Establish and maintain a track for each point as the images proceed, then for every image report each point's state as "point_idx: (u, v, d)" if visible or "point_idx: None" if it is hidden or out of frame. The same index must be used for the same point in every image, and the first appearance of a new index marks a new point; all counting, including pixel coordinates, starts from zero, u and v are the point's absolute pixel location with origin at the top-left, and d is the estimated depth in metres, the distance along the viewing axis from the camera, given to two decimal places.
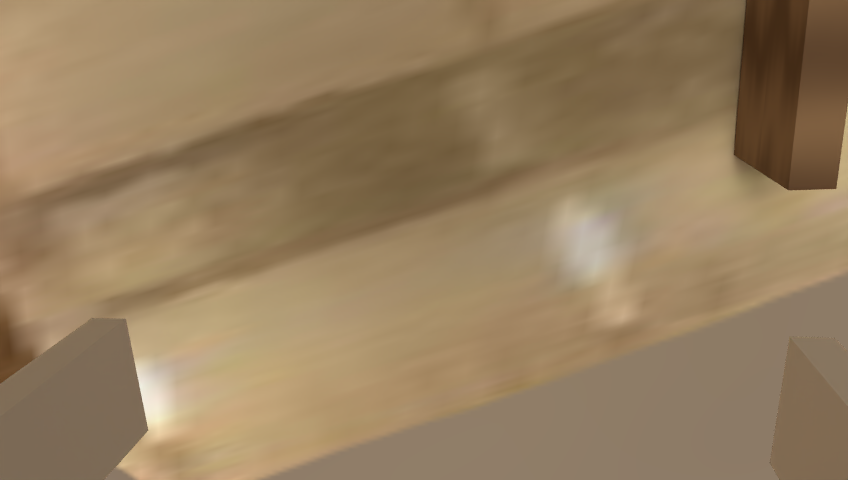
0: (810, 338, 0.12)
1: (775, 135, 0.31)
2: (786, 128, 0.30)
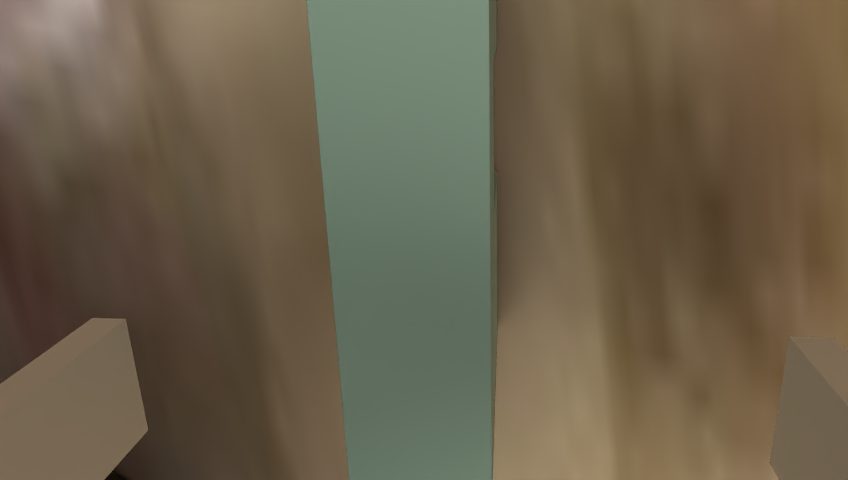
0: (810, 338, 0.12)
1: None
2: None
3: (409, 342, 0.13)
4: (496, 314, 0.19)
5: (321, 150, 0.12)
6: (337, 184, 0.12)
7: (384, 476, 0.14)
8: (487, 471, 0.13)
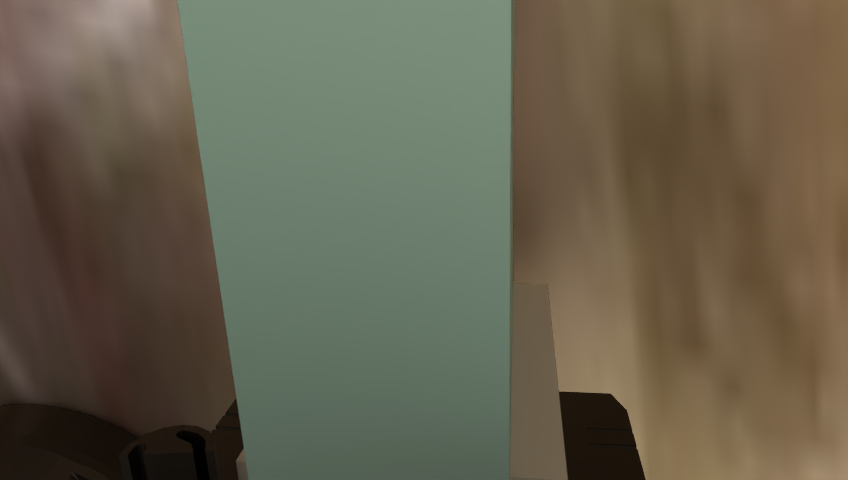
0: (527, 284, 0.15)
1: None
2: None
3: None
4: None
5: (219, 245, 0.07)
6: (247, 304, 0.07)
7: None
8: None
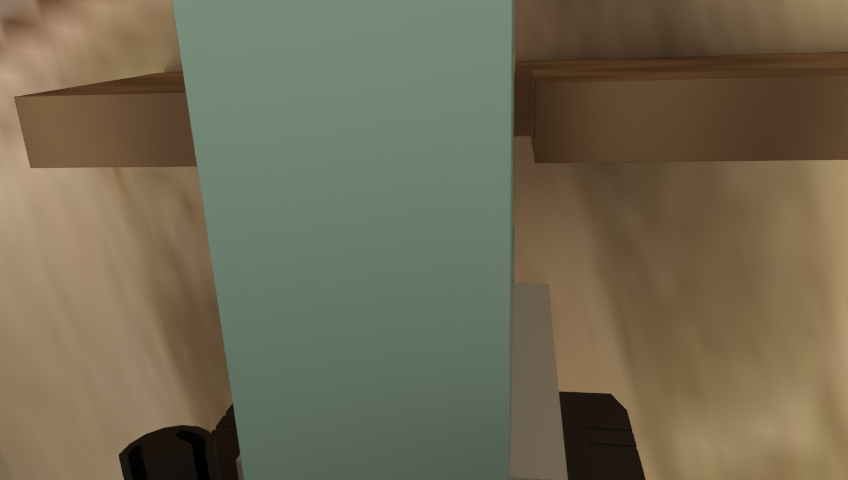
0: (527, 284, 0.15)
1: None
2: None
3: None
4: None
5: (216, 251, 0.07)
6: (244, 310, 0.07)
7: None
8: None
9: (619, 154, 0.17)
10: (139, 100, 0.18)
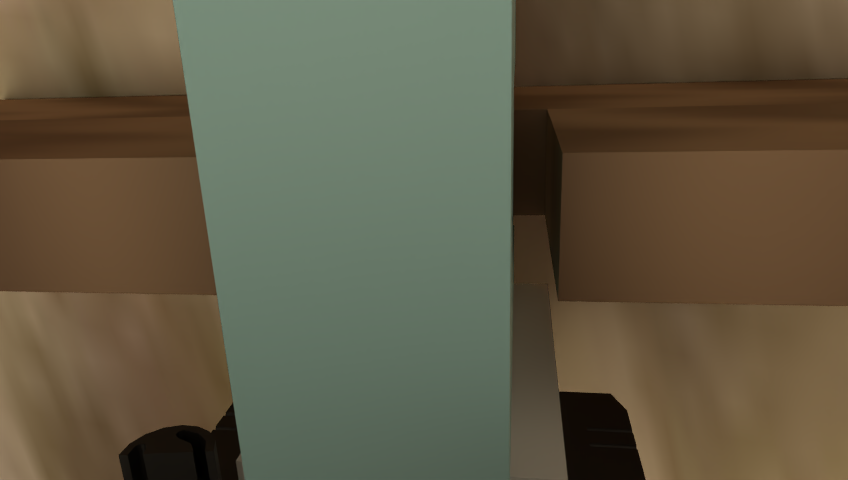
0: (527, 284, 0.15)
1: None
2: None
3: None
4: None
5: (216, 250, 0.07)
6: (244, 309, 0.07)
7: None
8: None
9: (725, 290, 0.08)
10: None
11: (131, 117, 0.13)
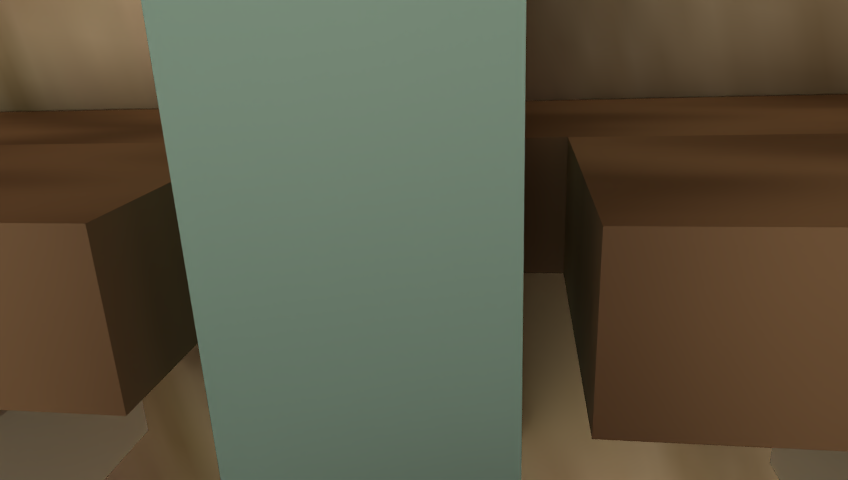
0: None
1: None
2: None
3: None
4: None
5: (195, 276, 0.06)
6: (225, 341, 0.06)
7: None
8: None
9: None
10: None
11: (32, 144, 0.10)
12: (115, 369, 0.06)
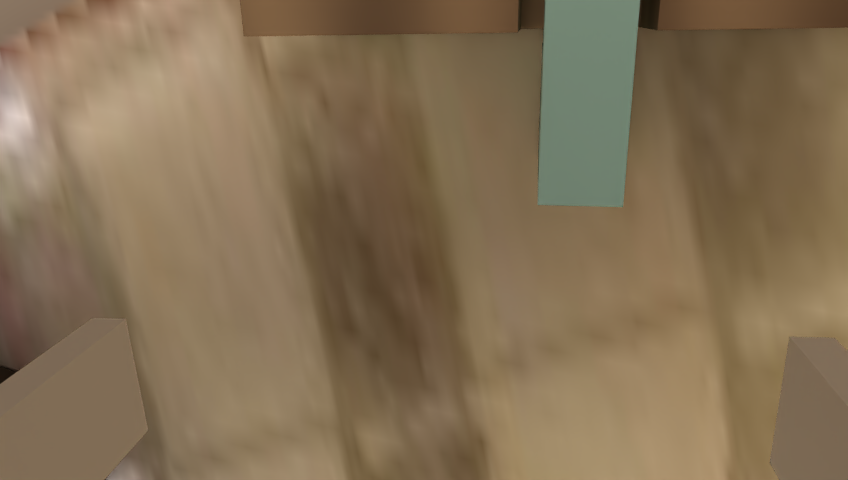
0: (810, 338, 0.12)
1: None
2: None
3: (584, 101, 0.23)
4: None
5: None
6: (553, 4, 0.22)
7: (559, 190, 0.24)
8: (622, 185, 0.23)
9: (727, 22, 0.21)
10: None
11: None
12: (516, 16, 0.22)
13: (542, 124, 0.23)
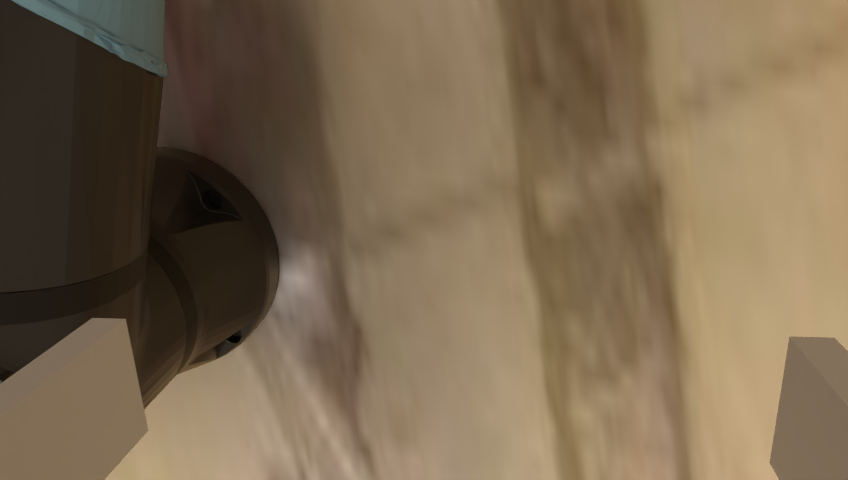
0: (809, 338, 0.12)
1: None
2: None
3: None
4: None
5: None
6: None
7: None
8: None
9: None
10: None
11: None
12: None
13: None
